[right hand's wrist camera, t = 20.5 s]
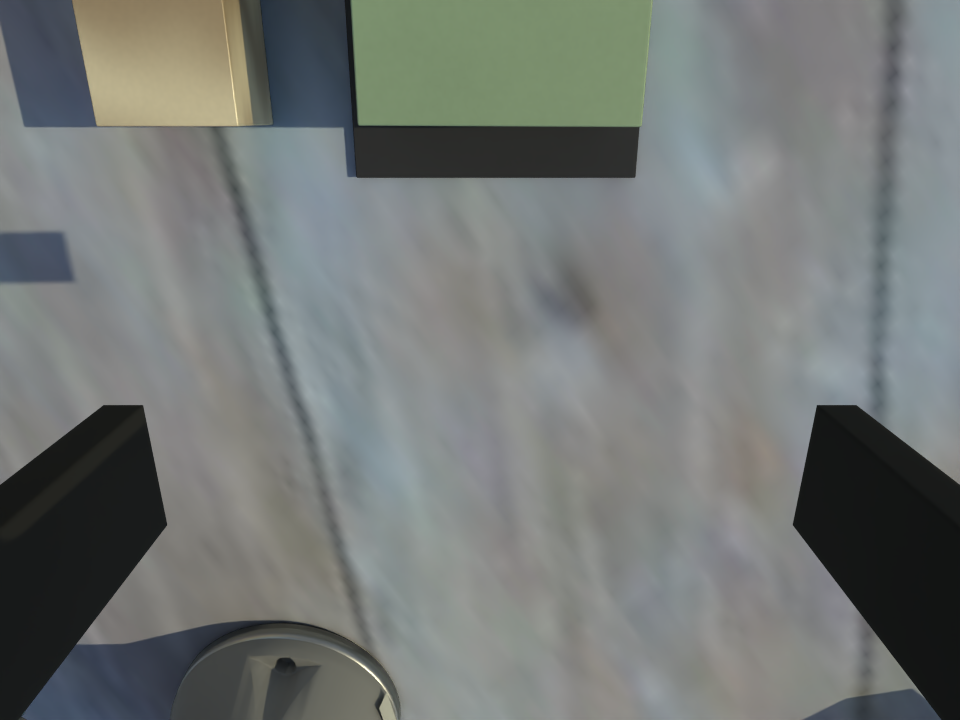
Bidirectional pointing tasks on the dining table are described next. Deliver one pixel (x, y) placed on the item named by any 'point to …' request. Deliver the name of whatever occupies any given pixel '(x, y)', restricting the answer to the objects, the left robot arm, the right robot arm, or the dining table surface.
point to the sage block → (500, 62)
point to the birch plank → (175, 62)
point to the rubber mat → (489, 148)
